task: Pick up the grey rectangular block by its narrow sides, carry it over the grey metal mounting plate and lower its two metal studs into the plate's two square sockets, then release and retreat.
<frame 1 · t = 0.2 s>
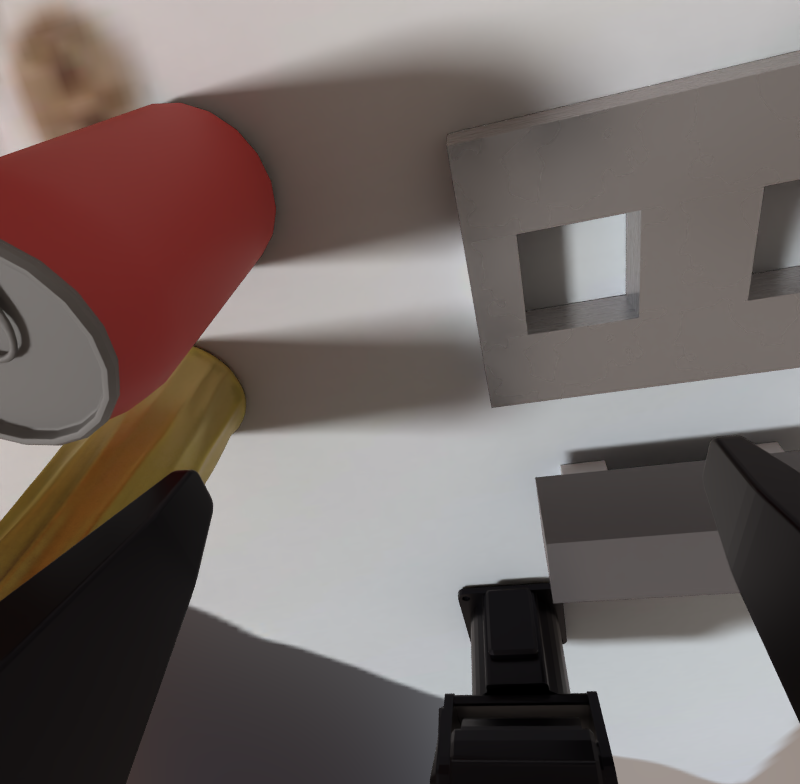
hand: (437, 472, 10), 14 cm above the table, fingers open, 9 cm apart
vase: (189, 389, 28), on the table
beer can: (200, 191, 22), on the table
grey rectangular block: (663, 469, 28), on the table
mount plate: (678, 237, 21), on the table
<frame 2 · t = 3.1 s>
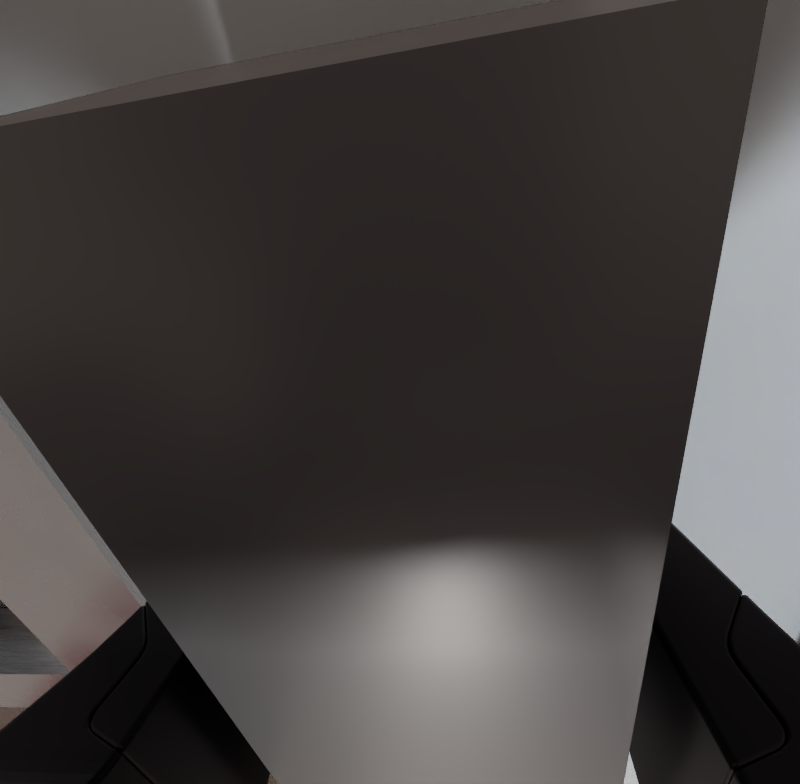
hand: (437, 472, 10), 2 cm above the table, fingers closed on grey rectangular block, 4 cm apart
grey rectangular block: (438, 418, 11), on the table, touching gripper
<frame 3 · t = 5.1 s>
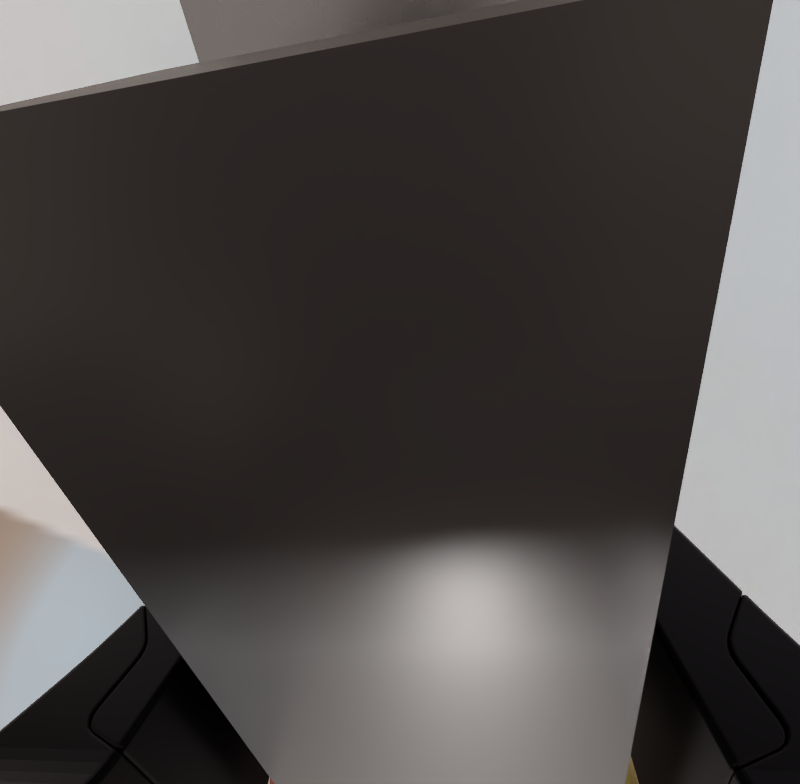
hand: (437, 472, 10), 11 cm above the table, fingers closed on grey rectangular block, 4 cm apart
grey rectangular block: (438, 417, 11), point 9 cm above the table, touching gripper
mount plate: (443, 249, 18), on the table
when the fingers open (3 cm above the table, at t = 7.4 s): grey rectangular block stays where it is, resting on mount plate.
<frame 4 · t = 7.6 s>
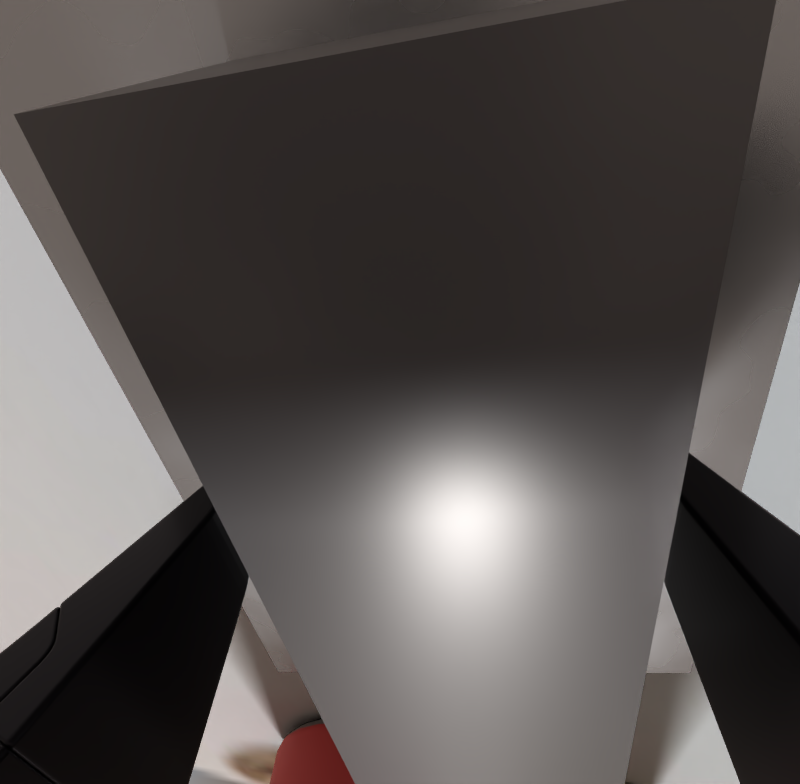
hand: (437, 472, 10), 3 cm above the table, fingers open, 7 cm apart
beer can: (359, 741, 23), on the table
grey rectangular block: (459, 391, 11), resting on mount plate
mount plate: (438, 388, 12), on the table
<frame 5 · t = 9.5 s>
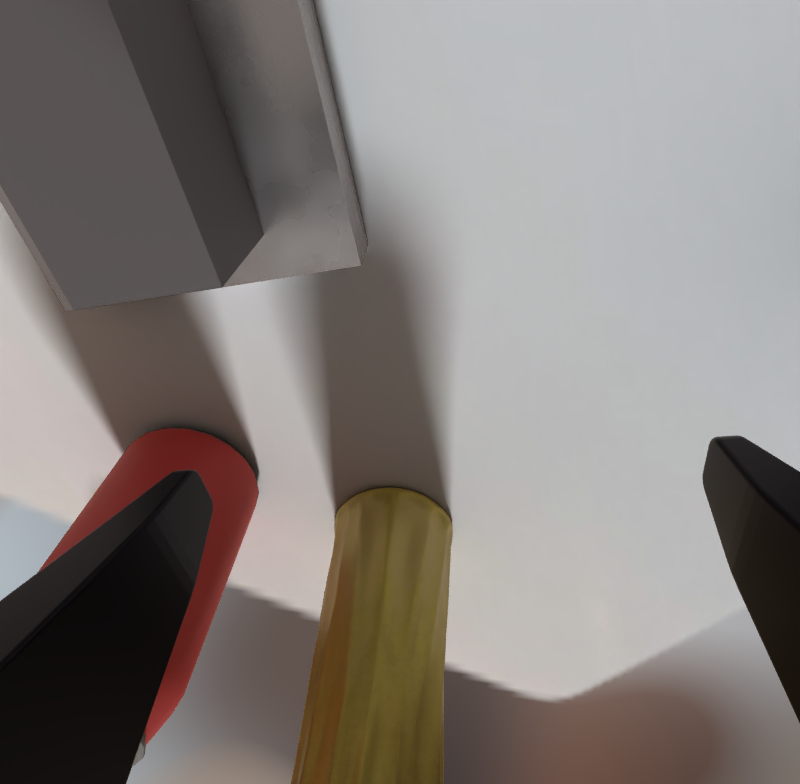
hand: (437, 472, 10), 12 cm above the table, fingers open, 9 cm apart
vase: (393, 523, 28), on the table
beer can: (197, 469, 27), on the table
grey rectangular block: (135, 6, 16), resting on mount plate
mount plate: (125, 10, 16), on the table
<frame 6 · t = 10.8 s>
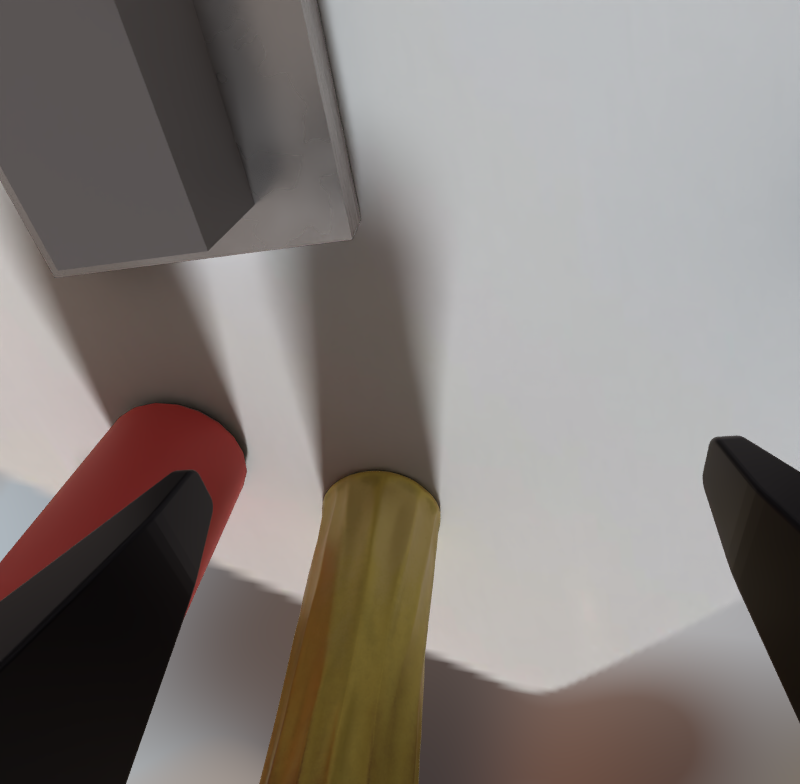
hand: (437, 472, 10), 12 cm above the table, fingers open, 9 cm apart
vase: (381, 508, 28), on the table
beer can: (186, 446, 27), on the table
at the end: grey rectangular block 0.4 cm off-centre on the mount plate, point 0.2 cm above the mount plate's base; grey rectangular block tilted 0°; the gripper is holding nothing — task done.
